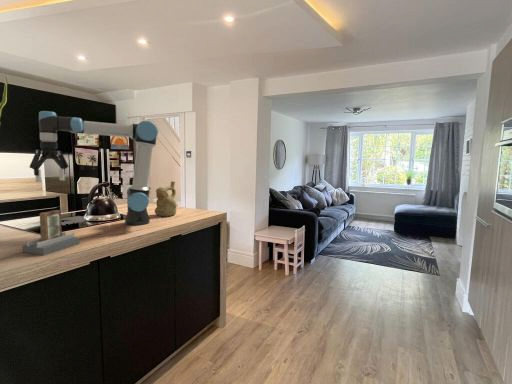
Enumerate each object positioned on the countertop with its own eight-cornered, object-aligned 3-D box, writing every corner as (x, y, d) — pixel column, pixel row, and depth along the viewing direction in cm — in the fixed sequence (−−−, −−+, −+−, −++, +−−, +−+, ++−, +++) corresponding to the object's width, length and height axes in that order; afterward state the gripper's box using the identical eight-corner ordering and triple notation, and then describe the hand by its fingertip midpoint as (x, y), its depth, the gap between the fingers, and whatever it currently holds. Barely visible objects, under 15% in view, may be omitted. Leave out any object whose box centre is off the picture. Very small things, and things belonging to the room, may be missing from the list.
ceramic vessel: (148, 216, 212) (148, 182, 210) (166, 211, 230) (166, 180, 227) (167, 218, 206) (166, 183, 203) (184, 214, 224) (184, 181, 221)
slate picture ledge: (59, 241, 145) (59, 231, 144) (79, 243, 142) (78, 233, 141) (22, 252, 128) (21, 241, 127) (43, 255, 125) (43, 243, 124)
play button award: (92, 218, 194) (60, 224, 177) (93, 221, 194) (60, 226, 177) (79, 215, 202) (47, 220, 185) (79, 218, 202) (47, 223, 185)
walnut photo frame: (57, 238, 139) (55, 209, 138) (62, 239, 139) (60, 210, 137) (41, 244, 130) (39, 213, 129) (46, 244, 130) (44, 213, 128)
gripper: (64, 142, 167) (65, 179, 170) (19, 139, 143) (21, 182, 146) (74, 142, 165) (76, 180, 168) (30, 139, 141) (33, 183, 144)
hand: (50, 181), depth 157 cm, fingers open, 13 cm apart
